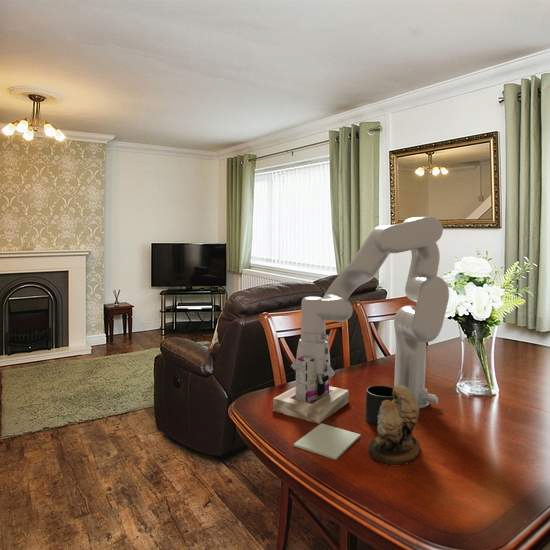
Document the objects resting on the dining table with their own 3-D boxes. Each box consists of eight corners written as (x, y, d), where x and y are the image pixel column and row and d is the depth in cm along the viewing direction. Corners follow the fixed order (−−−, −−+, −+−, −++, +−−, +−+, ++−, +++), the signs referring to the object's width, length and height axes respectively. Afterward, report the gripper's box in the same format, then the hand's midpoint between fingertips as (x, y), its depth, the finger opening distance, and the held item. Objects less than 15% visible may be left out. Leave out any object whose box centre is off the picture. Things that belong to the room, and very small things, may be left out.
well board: (348, 402, 143) (348, 390, 142) (319, 423, 126) (319, 410, 126) (305, 391, 152) (305, 380, 151) (273, 410, 135) (273, 398, 135)
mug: (404, 415, 133) (405, 386, 132) (392, 430, 122) (393, 399, 122) (374, 408, 138) (375, 380, 137) (360, 422, 127) (361, 392, 127)
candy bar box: (317, 399, 145) (318, 351, 143) (329, 404, 141) (330, 354, 140) (294, 408, 137) (295, 357, 135) (306, 413, 133) (307, 361, 132)
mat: (360, 436, 119) (360, 434, 119) (335, 459, 106) (335, 457, 106) (321, 425, 125) (321, 423, 125) (293, 446, 113) (293, 443, 113)
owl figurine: (384, 431, 123) (386, 371, 121) (427, 442, 116) (430, 379, 115) (359, 457, 107) (362, 390, 106) (407, 472, 101) (411, 401, 99)
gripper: (343, 337, 135) (341, 394, 137) (295, 330, 145) (295, 383, 146) (332, 342, 129) (331, 402, 131) (283, 334, 139) (282, 390, 140)
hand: (312, 391), depth 139 cm, fingers closed on candy bar box, 5 cm apart
